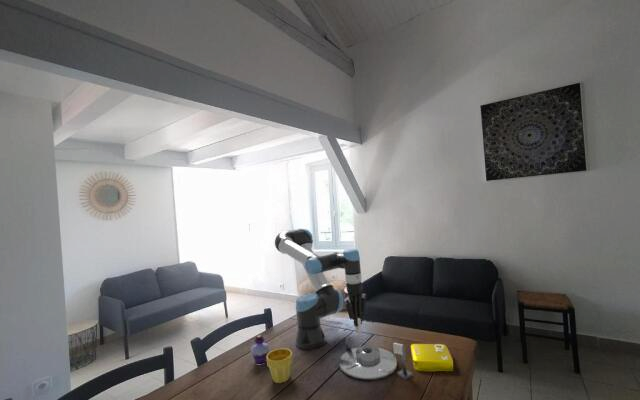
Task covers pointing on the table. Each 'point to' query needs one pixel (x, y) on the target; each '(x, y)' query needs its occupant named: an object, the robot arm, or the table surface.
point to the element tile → (431, 357)
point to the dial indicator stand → (401, 350)
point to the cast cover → (368, 355)
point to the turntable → (368, 373)
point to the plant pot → (279, 364)
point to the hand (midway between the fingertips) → (358, 332)
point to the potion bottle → (260, 350)
